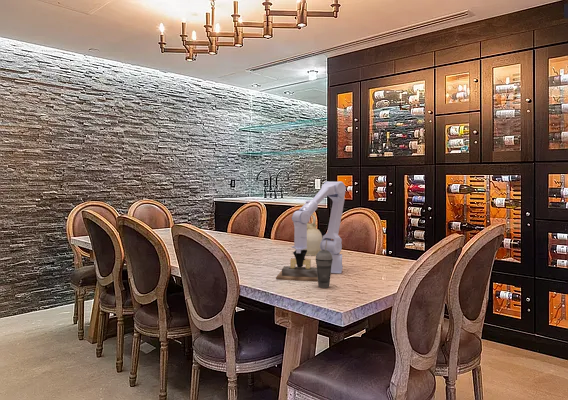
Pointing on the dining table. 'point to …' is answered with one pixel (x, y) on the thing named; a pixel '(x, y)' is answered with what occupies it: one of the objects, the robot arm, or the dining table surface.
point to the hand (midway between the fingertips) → (300, 266)
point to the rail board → (298, 274)
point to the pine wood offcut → (305, 262)
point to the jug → (313, 238)
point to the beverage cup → (324, 267)
